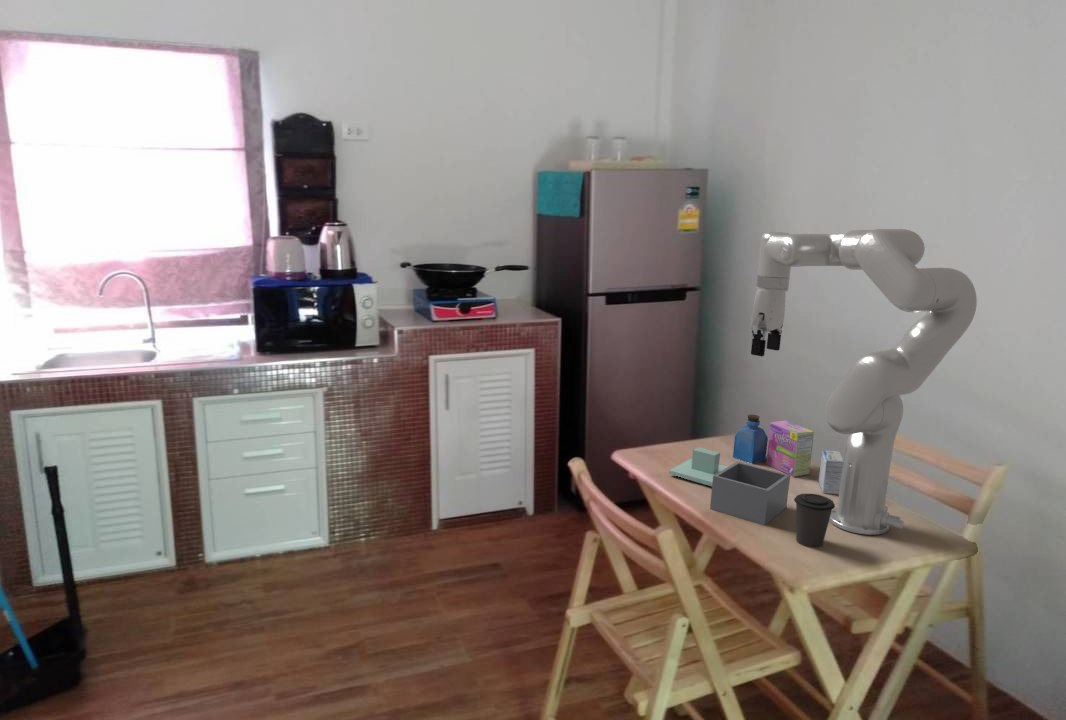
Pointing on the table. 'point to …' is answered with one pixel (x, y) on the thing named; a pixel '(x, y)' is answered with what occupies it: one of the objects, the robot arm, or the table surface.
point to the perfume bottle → (750, 441)
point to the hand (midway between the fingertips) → (765, 352)
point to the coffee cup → (812, 518)
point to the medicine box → (830, 472)
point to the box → (790, 448)
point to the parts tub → (750, 492)
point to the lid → (699, 467)
